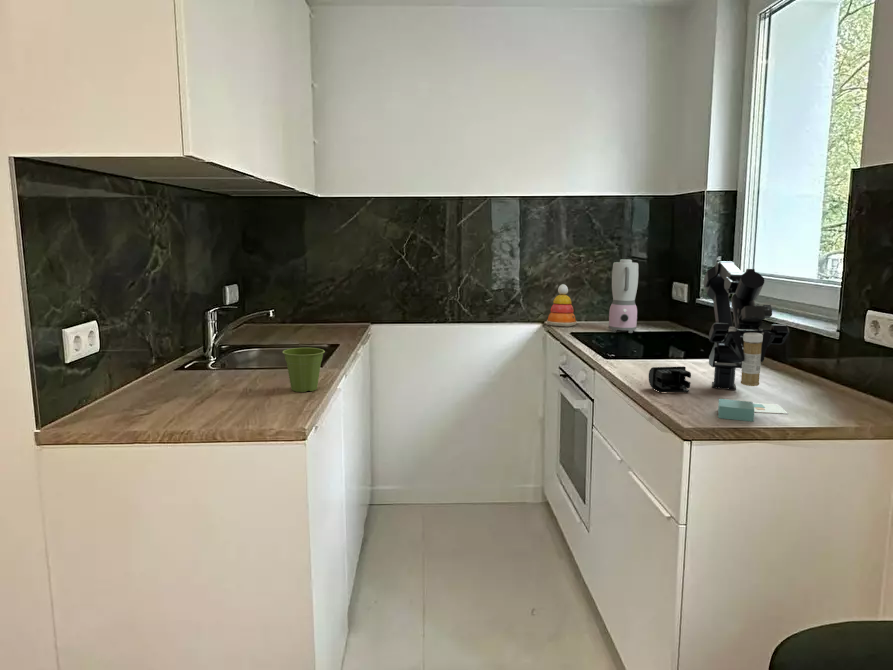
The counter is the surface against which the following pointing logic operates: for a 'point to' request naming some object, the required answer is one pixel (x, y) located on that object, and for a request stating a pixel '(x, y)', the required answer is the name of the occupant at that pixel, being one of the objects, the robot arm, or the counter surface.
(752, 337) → the sprinkles bottle
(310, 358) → the plant pot
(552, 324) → the stacking toy
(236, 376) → the counter surface
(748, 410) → the brick
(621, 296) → the blender
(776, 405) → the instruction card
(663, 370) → the end cap
